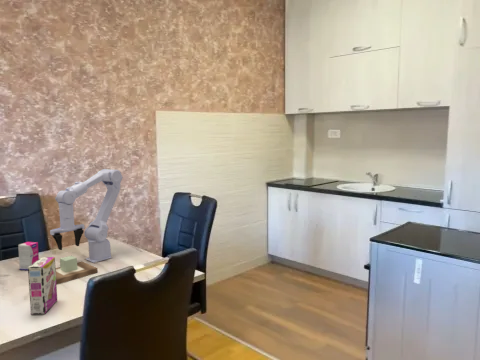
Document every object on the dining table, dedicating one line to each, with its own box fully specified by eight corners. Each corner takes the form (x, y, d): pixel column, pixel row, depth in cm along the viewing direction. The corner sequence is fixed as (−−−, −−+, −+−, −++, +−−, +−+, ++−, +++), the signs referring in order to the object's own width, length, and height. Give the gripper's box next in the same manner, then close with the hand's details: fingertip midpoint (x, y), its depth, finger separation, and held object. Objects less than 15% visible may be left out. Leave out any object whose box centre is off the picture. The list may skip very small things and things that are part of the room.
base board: (82, 265, 178) (81, 260, 178) (97, 272, 169) (97, 267, 169) (41, 276, 165) (40, 271, 165) (55, 284, 156) (54, 279, 155)
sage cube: (72, 266, 170) (71, 255, 170) (77, 269, 167) (76, 257, 166) (60, 269, 167) (59, 258, 166) (65, 272, 163) (65, 260, 163)
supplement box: (30, 270, 172) (28, 245, 171) (19, 270, 173) (17, 245, 172) (40, 266, 178) (38, 241, 176) (28, 265, 179) (26, 241, 178)
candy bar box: (46, 314, 130) (42, 266, 128) (30, 315, 130) (26, 267, 128) (58, 300, 141) (55, 256, 139) (44, 300, 141) (40, 256, 139)
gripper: (78, 213, 180) (80, 242, 182) (46, 219, 170) (48, 249, 171) (86, 215, 176) (87, 245, 177) (53, 221, 165) (55, 252, 167)
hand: (69, 247), depth 174 cm, fingers open, 7 cm apart
